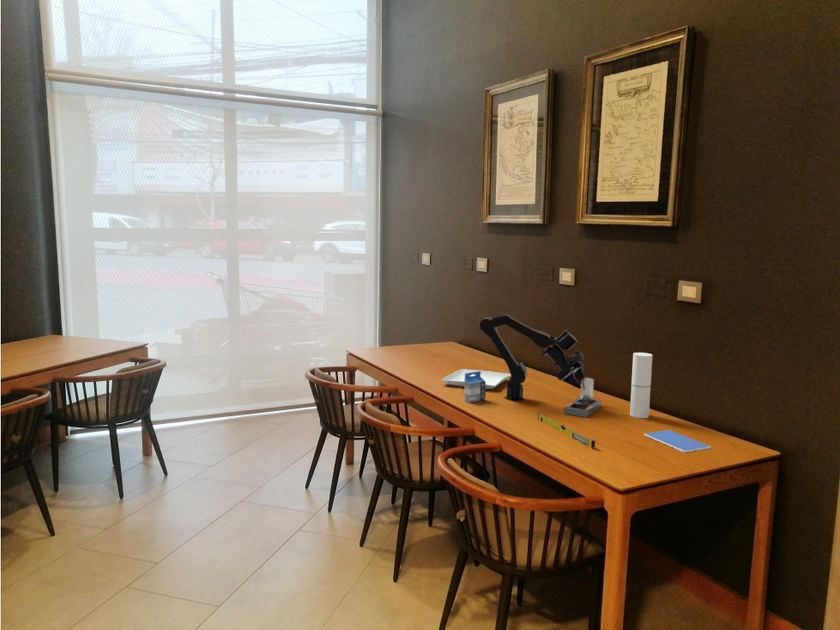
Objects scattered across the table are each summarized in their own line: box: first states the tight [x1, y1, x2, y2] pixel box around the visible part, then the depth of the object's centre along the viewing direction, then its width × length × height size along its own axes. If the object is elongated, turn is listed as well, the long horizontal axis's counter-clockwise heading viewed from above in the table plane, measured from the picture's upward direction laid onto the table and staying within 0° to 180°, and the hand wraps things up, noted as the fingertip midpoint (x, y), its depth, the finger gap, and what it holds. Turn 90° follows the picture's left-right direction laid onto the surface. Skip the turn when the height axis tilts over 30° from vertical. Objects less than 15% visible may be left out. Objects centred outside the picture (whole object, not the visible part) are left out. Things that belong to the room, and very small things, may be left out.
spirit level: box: [537, 413, 596, 449], centre depth 225 cm, size 33×1×3 cm, turn 21°
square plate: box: [441, 368, 511, 390], centre depth 301 cm, size 27×27×4 cm
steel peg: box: [580, 377, 595, 404], centre depth 259 cm, size 5×5×12 cm
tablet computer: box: [643, 429, 712, 453], centre depth 218 cm, size 19×13×1 cm, turn 23°
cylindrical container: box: [629, 352, 653, 419], centre depth 247 cm, size 7×7×25 cm
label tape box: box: [464, 370, 486, 404], centre depth 268 cm, size 9×4×12 cm, turn 123°
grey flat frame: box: [563, 396, 602, 418], centre depth 256 cm, size 20×10×3 cm, turn 148°
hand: (583, 386), depth 260 cm, fingers open, 9 cm apart
